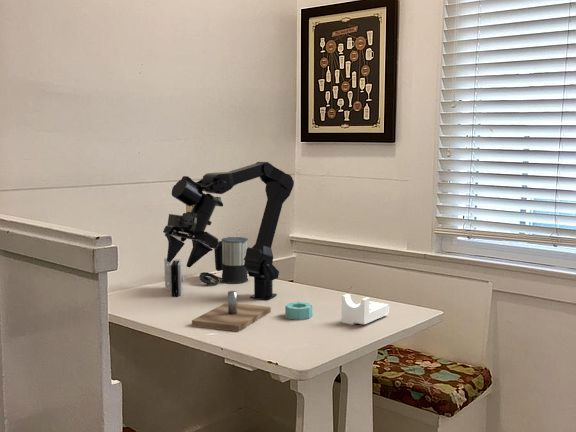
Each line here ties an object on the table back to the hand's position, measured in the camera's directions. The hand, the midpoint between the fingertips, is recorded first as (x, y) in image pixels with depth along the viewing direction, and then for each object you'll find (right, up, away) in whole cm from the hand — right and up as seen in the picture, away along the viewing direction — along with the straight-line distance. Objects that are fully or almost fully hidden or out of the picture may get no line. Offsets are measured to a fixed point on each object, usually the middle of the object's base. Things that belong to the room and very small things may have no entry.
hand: (177, 264), depth 180 cm
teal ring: (+33, -15, +1) cm, 36 cm away
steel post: (+15, -15, -1) cm, 21 cm away
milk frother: (+9, -10, +43) cm, 45 cm away
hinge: (-7, -11, +30) cm, 33 cm away
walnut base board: (+15, -15, -1) cm, 21 cm away
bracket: (+52, -15, -2) cm, 54 cm away
